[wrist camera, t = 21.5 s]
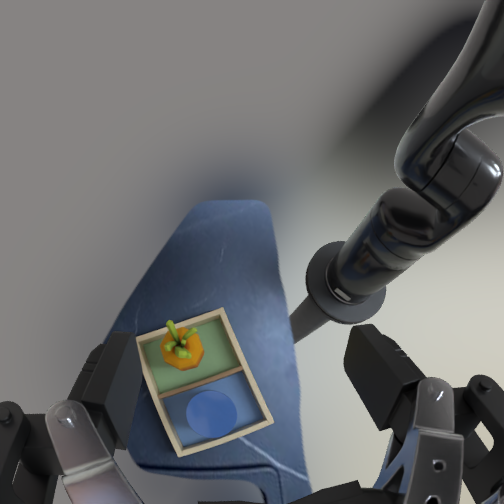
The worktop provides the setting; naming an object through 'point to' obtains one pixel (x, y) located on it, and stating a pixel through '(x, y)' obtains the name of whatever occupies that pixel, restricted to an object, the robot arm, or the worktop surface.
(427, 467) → the robot arm
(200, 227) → the worktop surface
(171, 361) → the carrot
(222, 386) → the sorting tray
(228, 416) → the blue cylinder
